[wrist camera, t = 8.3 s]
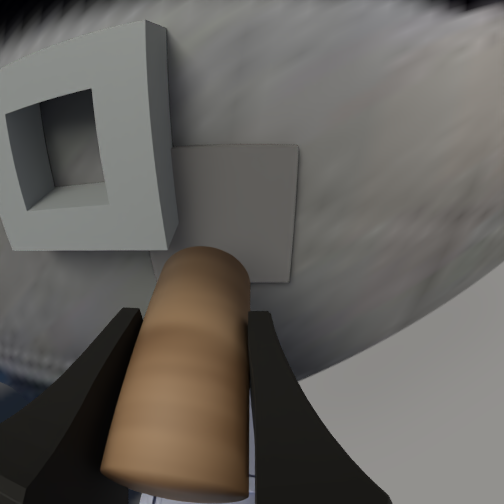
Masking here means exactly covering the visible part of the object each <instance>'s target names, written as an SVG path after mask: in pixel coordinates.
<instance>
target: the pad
mask: <svg viewBox="0 0 504 504" xmlns="http://www.w3.org/2000/svg"><path fill="white" fill-rule="evenodd" d="M298 152H299V147H298V145H281V144H227V145H198V146H179V147H172V148H171V158H172V168H173V178H174V187H175V196H176V204H177V212H178V220H179V224H178V226H177V228H176V231H175V233H174V236H173V238H172V241H171V243H170V246H169V248H168V250H149V252H150V257H151V262H152V266H153V270H154V275H155V279H156V281H158V279H159V276H160V274H161V271H162V268H163V266H164V264H165V263H166V261H167V260H168V259H169V258H170V257H171V256H172V255H173V254H175V253H176V252H178V251H180V250H182V249H185V248H189V247H195V246H207V247H213V248H217V249H220V250H223V251H225V252H227V253H229V254H231V255H232V256H234V257H235V258H236V259H237V260H239V261H240V262H241V264H242V265H243V266H244V267H245V269H246V271H247V273H248V275H249V278H250V282H289V278H290V267H291V255H292V243H293V230H294V217H295V202H296V187H297V171H298Z"/></svg>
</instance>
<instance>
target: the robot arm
mask: <svg viewBox="0 0 504 504" xmlns="http://www.w3.org/2000/svg"><path fill="white" fill-rule="evenodd" d="M142 323H143V319H142V315H141V312H140V309H139V308H122V309H121V310H120V311H119V313H118V314H117V315H116V316H115V317H114V318H113V319H112V320H111V321H110V323H109V324H108V325H107V326H106V327H105V328H104V330H103V331H102V332H101V333H100V334H99V335H98V336H97V338H96V339H95V340H94V341H93V342H92V343H91V344H90V346H89V347H88V348H87V349H86V350H85V351H84V352H83V353H82V355H81V356H80V357H79V358H78V359H77V360H76V361H75V362H74V363H73V364H72V365H71V366H70V367H69V368H68V369H67V370H66V372H65V373H64V374H63V375H62V376H60V377H59V378H58V379H57V380H56V381H55V382H54V383H53V384H52V385H51V386H50V387H49V388H48V389H46V390H45V391H44V392H43V393H42V394H41V395H39V396H38V397H37V398H36V399H34V400H33V401H32V402H30V403H29V404H28V405H27V406H25V407H24V408H23V409H21V410H20V411H19V412H17V413H16V414H14V415H13V416H11V417H10V418H8V419H7V420H5V421H4V422H2V423H0V504H128V488H127V487H124V486H122V485H120V484H117V483H115V482H114V481H112V480H110V479H108V478H107V477H105V476H104V475H103V474H102V473H101V472H100V467H101V463H102V458H103V454H104V450H105V446H106V442H107V438H108V434H109V430H110V427H111V423H112V419H113V415H114V412H115V408H116V405H117V401H118V398H119V394H120V391H121V388H122V384H123V381H124V378H125V374H126V371H127V368H128V365H129V362H130V359H131V355H132V352H133V349H134V346H135V343H136V340H137V337H138V334H139V331H140V328H141V326H142ZM248 355H249V368H250V406H249V497H248V498H247V499H245V500H242V501H238V502H232V503H219V504H392V502H391V500H390V497H389V496H388V495H387V494H386V493H385V492H384V491H383V490H382V489H381V488H380V487H379V486H378V485H377V484H375V483H374V482H373V481H372V480H371V479H370V478H369V477H368V476H367V475H366V474H365V473H364V472H363V471H362V470H361V469H360V467H359V466H358V465H357V464H356V463H355V462H354V461H353V460H352V459H351V458H350V456H349V455H348V454H347V453H346V452H345V451H344V449H343V448H342V447H341V446H340V444H339V443H338V442H337V441H336V439H335V438H334V437H333V436H332V435H331V433H330V432H329V431H328V429H327V428H326V426H325V425H324V424H323V422H322V421H321V419H320V418H319V416H318V415H317V413H316V412H315V410H314V409H313V407H312V406H311V404H310V402H309V401H308V400H307V398H306V396H305V394H304V392H303V391H302V389H301V387H300V385H299V384H298V382H297V380H296V378H295V376H294V374H293V372H292V370H291V368H290V366H289V364H288V361H287V359H286V357H285V355H284V353H283V350H282V348H281V345H280V343H279V340H278V337H277V335H276V332H275V329H274V325H273V321H272V317H271V314H270V313H269V312H268V311H248ZM140 504H207V503H191V502H182V501H176V500H170V499H165V498H160V497H156V496H152V495H148V494H144V493H142V496H141V500H140Z"/></svg>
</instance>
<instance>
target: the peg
mask: <svg viewBox="0 0 504 504" xmlns="http://www.w3.org/2000/svg"><path fill="white" fill-rule="evenodd" d="M248 311H250V278H249V275H248V273H247V271H246V269H245V267H244V266H243V265H242V264H241V262H240V261H239V260H237V259H236V258H235V257H234V256H232V255H231V254H229V253H227V252H225V251H223V250H220V249H217V248H213V247H207V246H195V247H189V248H185V249H182V250H180V251H178V252H176V253H175V254H173V255H172V256H171V257H170V258H169V259H168V260H167V261H166V263H165V264H164V266H163V268H162V271H161V274H160V276H159V279H158V281H157V284H156V287H155V289H154V292H153V295H152V298H151V300H150V303H149V306H148V309H147V311H146V314H145V317H144V320H143V323H142V326H141V328H140V331H139V334H138V337H137V340H136V343H135V346H134V349H133V352H132V355H131V359H130V362H129V365H128V368H127V371H126V374H125V378H124V381H123V384H122V388H121V391H120V394H119V398H118V401H117V405H116V408H115V412H114V415H113V419H112V423H111V427H110V430H109V434H108V438H107V442H106V446H105V450H104V454H103V458H102V463H101V467H100V472H101V473H102V474H103V475H104V476H105V477H107V478H108V479H110V480H112V481H114V482H115V483H117V484H120V485H122V486H124V487H127V488H129V489H132V490H135V491H138V492H141V493H144V494H148V495H152V496H156V497H160V498H165V499H170V500H176V501H182V502H191V503H207V504H219V503H232V502H238V501H242V500H245V499H247V498H248V497H249V406H250V368H249V355H248Z"/></svg>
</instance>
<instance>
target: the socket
mask: <svg viewBox="0 0 504 504" xmlns="http://www.w3.org/2000/svg"><path fill="white" fill-rule="evenodd" d="M91 88H92V97H93V106H94V115H95V123H96V131H97V138H98V145H99V151H100V157H101V163H102V169H103V174H104V180H105V182H100V183H90V184H80V185H71V186H63V187H55V186H54V181H53V177H52V173H51V168H50V164H49V159H48V154H47V149H46V143H45V138H44V132H43V125H42V119H41V112H40V104H39V102H42V101H46V100H49V99H52V98H56V97H59V96H63V95H66V94H70V93H74V92H78V91H82V90H86V89H91ZM172 147H173V146H172V134H171V121H170V107H169V90H168V70H167V40H166V28H165V27H162V26H160V25H157V24H155V23H152V22H150V21H147V20H142V21H137V22H132V23H127V24H123V25H119V26H114V27H110V28H106V29H103V30H99V31H95V32H92V33H88V34H85V35H82V36H79V37H75V38H72V39H69V40H66V41H64V42H61V43H58V44H55V45H52V46H50V47H47V48H45V49H42V50H40V51H37V52H35V53H32V54H30V55H28V56H25V57H23V58H21V59H19V60H16V61H14V62H12V63H10V64H8V65H6V66H4V67H2V68H0V217H1V220H2V223H3V226H4V228H5V231H6V234H7V237H8V239H9V242H10V244H11V247H12V249H13V251H64V250H168V248H169V246H170V243H171V241H172V238H173V236H174V233H175V231H176V228H177V226H178V224H179V220H178V212H177V204H176V196H175V187H174V178H173V168H172V158H171V148H172Z"/></svg>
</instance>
